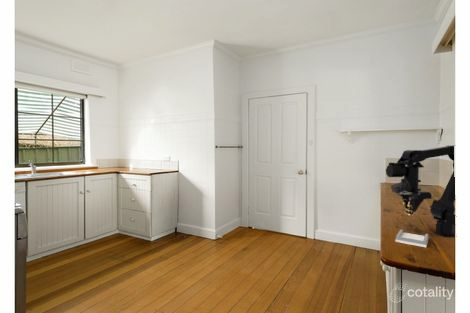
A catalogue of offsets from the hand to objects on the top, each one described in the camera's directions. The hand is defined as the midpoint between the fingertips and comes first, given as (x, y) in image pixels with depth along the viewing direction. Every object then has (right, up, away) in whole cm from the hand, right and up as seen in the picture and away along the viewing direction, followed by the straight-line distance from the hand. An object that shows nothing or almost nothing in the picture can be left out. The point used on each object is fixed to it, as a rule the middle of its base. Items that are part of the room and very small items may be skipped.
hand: (410, 210), depth 122 cm
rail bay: (-4, -12, -7) cm, 14 cm away
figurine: (0, -2, +1) cm, 2 cm away
